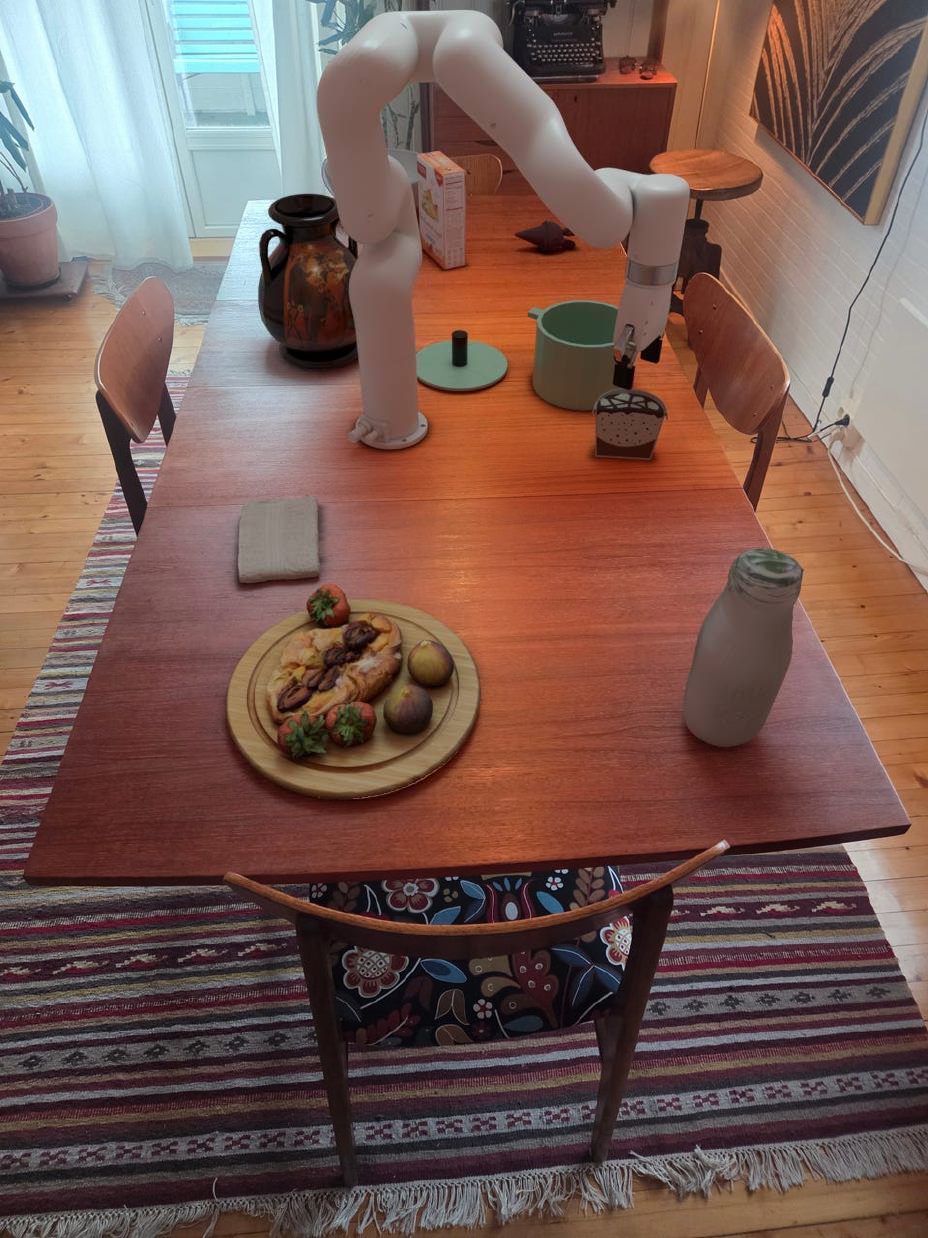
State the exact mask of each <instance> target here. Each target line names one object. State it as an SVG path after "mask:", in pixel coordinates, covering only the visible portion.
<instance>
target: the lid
mask: <svg viewBox="0 0 928 1238" xmlns="http://www.w3.org/2000/svg"><path fill="white" fill-rule="evenodd" d="M468 337H469V334H468V332H467V331H466V330H463V329H457V330H453V331H452V333H451V339H450V340H448V339H447V340H443V341H437V342H434V343H431V344H429V345H426V346H424V347H423V348H422V349H421V348H420V350H418V351H417V352H416V362H417V380H419V381H420V382H422V383H423V384H425V385H427V386H430V387H432V388H436V389H440V390H443V391H451V392H452V391H453V392H470V391H476V390H481V389H484V388H487V387H490V386H493V385H494V384H496V383H498V382H499V381H500V380H501V379H503V378H504V376H505V375H506V373H507V372H508V368H509V367H508V366H509V365H508V364H509V363H508V359H507V358H506V356H505V354H503V352H502V351H501V350H499V349H498V348H496V347H494V346H493V345H490V344H488V343H486V342H485V343H484V342H481V341H477V340H470V339H469V338H468Z"/></svg>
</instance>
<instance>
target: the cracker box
mask: <svg viewBox="0 0 928 1238" xmlns="http://www.w3.org/2000/svg"><path fill="white" fill-rule="evenodd" d="M417 169H418V194H419V206H418V215H419V216H418V217H419V219H418V220H419V234H420V240H421V246H422V250H423V251H424V252H425V253H427V255H428V256H430V258H431V259H432V260H433V261H434V262H435V263H437V264H438V266H440V268H441V269H442V270H443V271H447V270H450V269H451V270H452V269H455V268H461V267H465V266H467V245H466V244H467V243H466V242H467V241H466V240H467V239H466V238H467V234H466V233H467V232H466V231H467V230H466V229H467V227H466V226H467V220H466V219H467V215H466V214H467V213H466V212H467V210H466V208H467V205H466V203H467V201H466V200H467V199H466V198H467V197H466V196H467V195H466V194H467V191H466V188H467V187H466V186H467V185H466V184H467V183H466V182H467V180H466V179H467V175H466V173H467V172H466V170H465V169H463V168H462V167H461V166H460V165H459V164H457V163H456V162H454V161H453V160H452V159H450V158H449V157H448V156H447V155H445V154H444V153H443V152H442V151H441V150H436V151H429V152H422V153H420V154H418V155H417Z"/></svg>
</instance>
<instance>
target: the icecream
mask: <svg viewBox="0 0 928 1238" xmlns="http://www.w3.org/2000/svg"><path fill="white" fill-rule="evenodd" d="M514 237H516V238H519V239H520V240H523V241H525V242H527V243H530V244H532V245H535V246H536V247H539V248H540V250H541V251H542V253H545V252H553V251H556V250H558V249H559V248H560V247H561V248H563V249H565V250H573V249H575V248H576V242H575V241H574V240H571V239H566V238H565V237H567V238H571V237H577V236H576V235H575V234H573V233H572V232H571V231H570V230H569V229H568V228H567V227H565V228H562V227H561V226H560V224H558V223H556V222H553V221H548V220H544V221H543V222H542V223H541V224H540V225H537V226H534V227H531V228H528V229H524V230H521V231H518V232H515V233H514Z"/></svg>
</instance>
